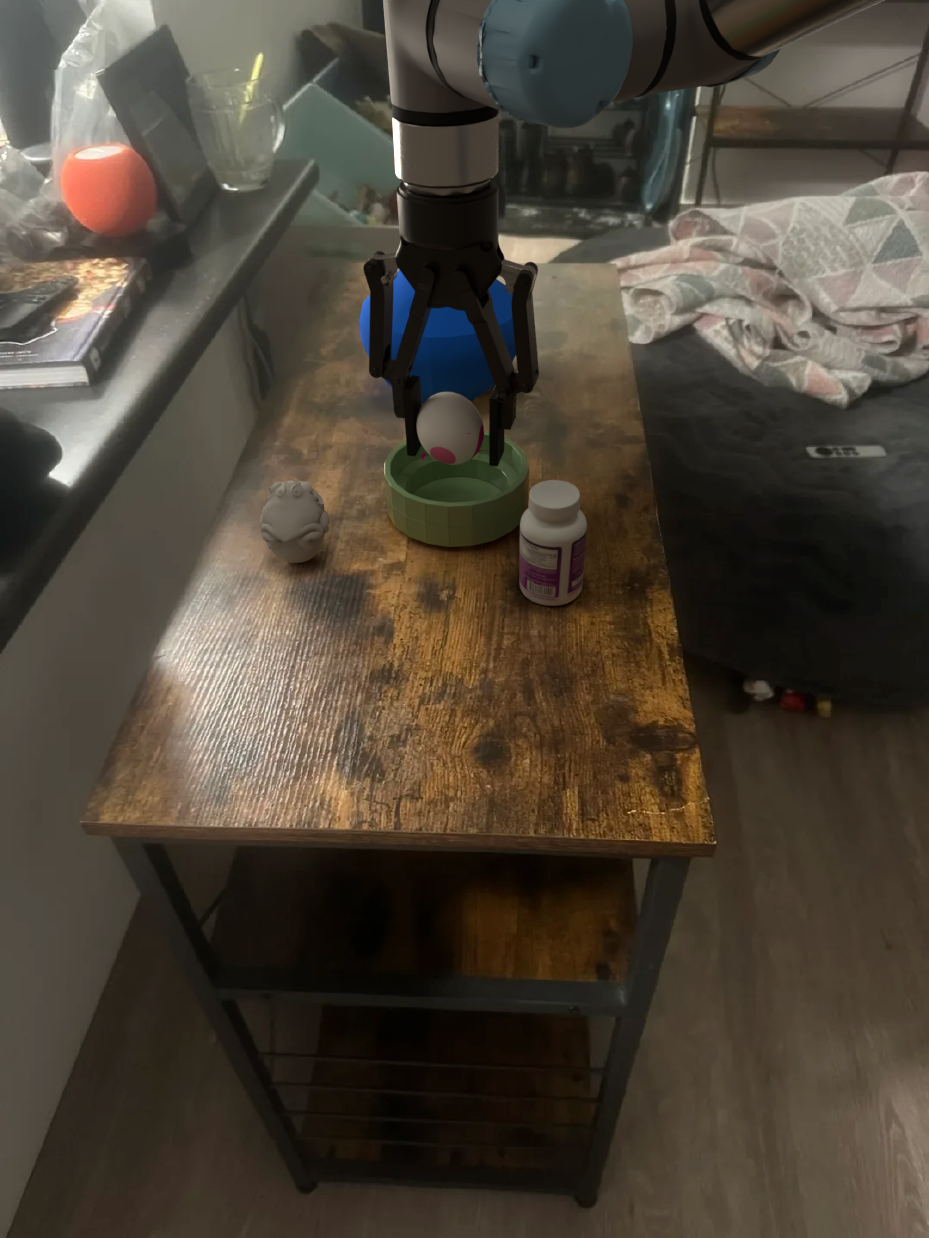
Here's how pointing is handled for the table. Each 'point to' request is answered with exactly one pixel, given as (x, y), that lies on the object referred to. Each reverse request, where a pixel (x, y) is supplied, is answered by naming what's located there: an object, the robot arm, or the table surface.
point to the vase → (445, 342)
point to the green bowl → (457, 495)
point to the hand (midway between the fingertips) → (455, 452)
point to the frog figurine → (294, 521)
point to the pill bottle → (552, 544)
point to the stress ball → (450, 428)
